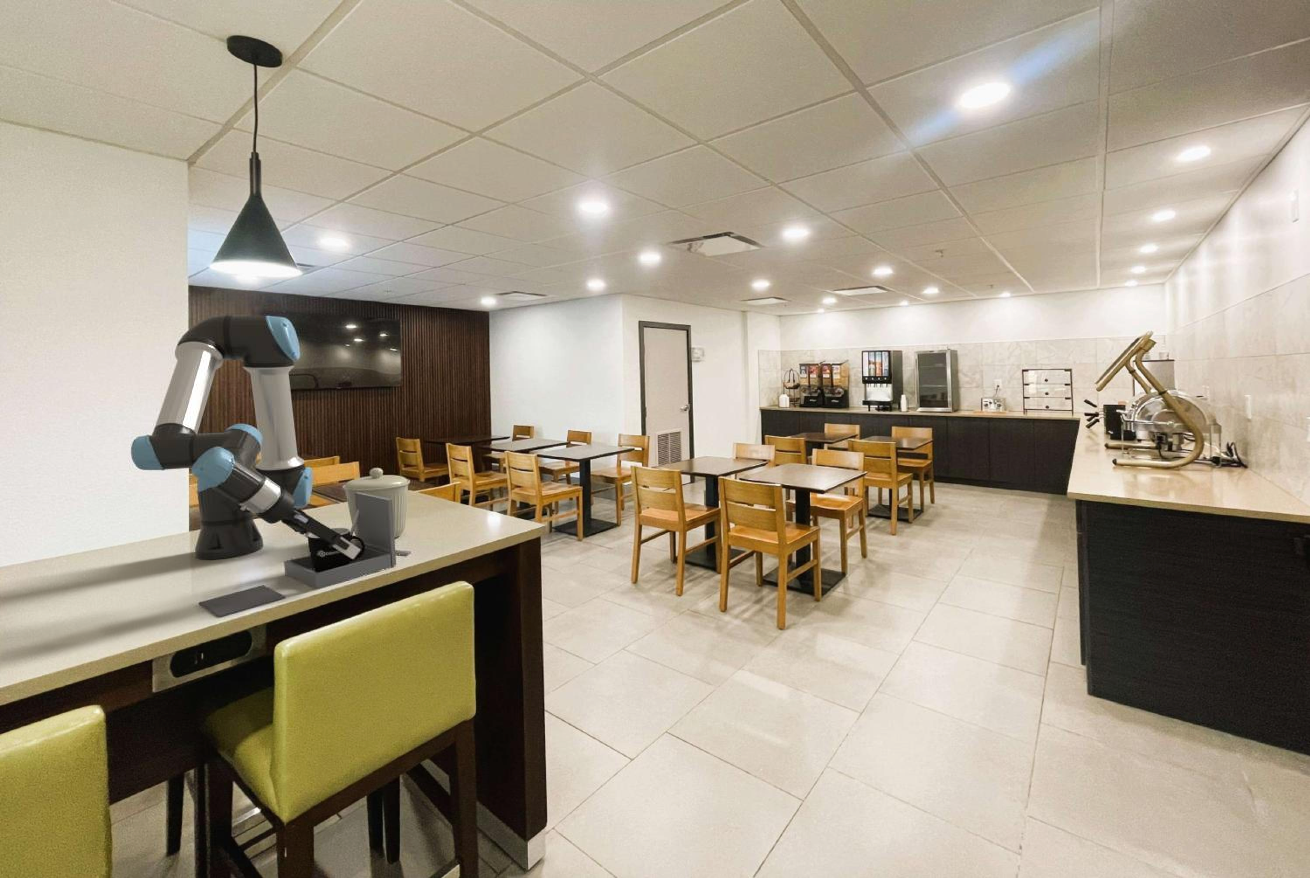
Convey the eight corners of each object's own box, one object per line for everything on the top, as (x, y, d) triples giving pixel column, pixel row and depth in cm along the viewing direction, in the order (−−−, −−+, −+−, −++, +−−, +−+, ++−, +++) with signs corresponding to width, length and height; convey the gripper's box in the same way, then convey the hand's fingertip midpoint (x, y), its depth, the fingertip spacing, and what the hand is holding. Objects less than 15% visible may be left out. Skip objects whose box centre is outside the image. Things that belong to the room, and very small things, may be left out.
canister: (361, 530, 177) (356, 464, 174) (420, 527, 179) (417, 462, 176) (335, 547, 159) (329, 474, 157) (401, 544, 161) (397, 472, 159)
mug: (311, 581, 132) (307, 539, 131) (310, 570, 140) (307, 531, 139) (367, 572, 138) (365, 532, 137) (364, 562, 146) (362, 524, 145)
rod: (370, 554, 154) (370, 549, 154) (373, 552, 155) (373, 548, 155) (408, 556, 151) (408, 552, 151) (411, 555, 152) (411, 551, 152)
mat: (198, 604, 119) (198, 602, 119) (263, 586, 129) (263, 585, 129) (219, 617, 112) (219, 615, 112) (286, 598, 122) (285, 596, 122)
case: (285, 575, 137) (279, 505, 135) (362, 554, 152) (358, 492, 150) (316, 589, 127) (310, 514, 125) (396, 566, 142) (392, 499, 140)
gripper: (234, 508, 131) (308, 553, 144) (279, 523, 116) (357, 572, 130) (258, 482, 134) (329, 529, 148) (305, 493, 120) (378, 544, 134)
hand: (342, 549), depth 139 cm, fingers open, 13 cm apart
